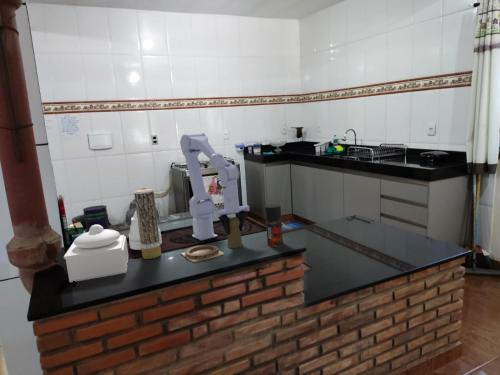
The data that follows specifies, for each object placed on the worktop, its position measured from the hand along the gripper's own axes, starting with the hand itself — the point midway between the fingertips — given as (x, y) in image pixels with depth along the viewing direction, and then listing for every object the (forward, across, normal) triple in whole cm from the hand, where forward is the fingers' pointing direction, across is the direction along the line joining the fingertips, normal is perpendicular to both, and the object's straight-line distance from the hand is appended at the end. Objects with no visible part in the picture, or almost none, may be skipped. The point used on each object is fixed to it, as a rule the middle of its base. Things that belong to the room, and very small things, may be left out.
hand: (233, 232), depth 140 cm
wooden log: (+6, -29, +12) cm, 32 cm away
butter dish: (+6, -47, +13) cm, 49 cm away
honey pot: (+6, -26, +29) cm, 39 cm away
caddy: (+5, -14, 0) cm, 15 cm away
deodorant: (+6, +12, -10) cm, 17 cm away
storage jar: (+6, -40, +53) cm, 67 cm away
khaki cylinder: (+6, 0, 0) cm, 6 cm away
